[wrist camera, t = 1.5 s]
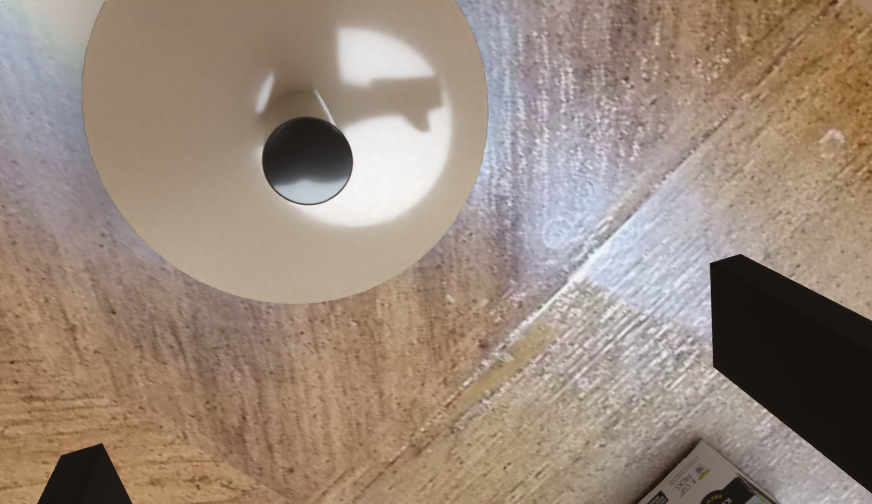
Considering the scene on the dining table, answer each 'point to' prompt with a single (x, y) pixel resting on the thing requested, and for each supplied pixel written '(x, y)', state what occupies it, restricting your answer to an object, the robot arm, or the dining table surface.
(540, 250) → the dining table surface
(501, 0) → the dining table surface
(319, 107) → the lid
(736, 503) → the tea box
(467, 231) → the dining table surface
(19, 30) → the dining table surface
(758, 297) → the robot arm
